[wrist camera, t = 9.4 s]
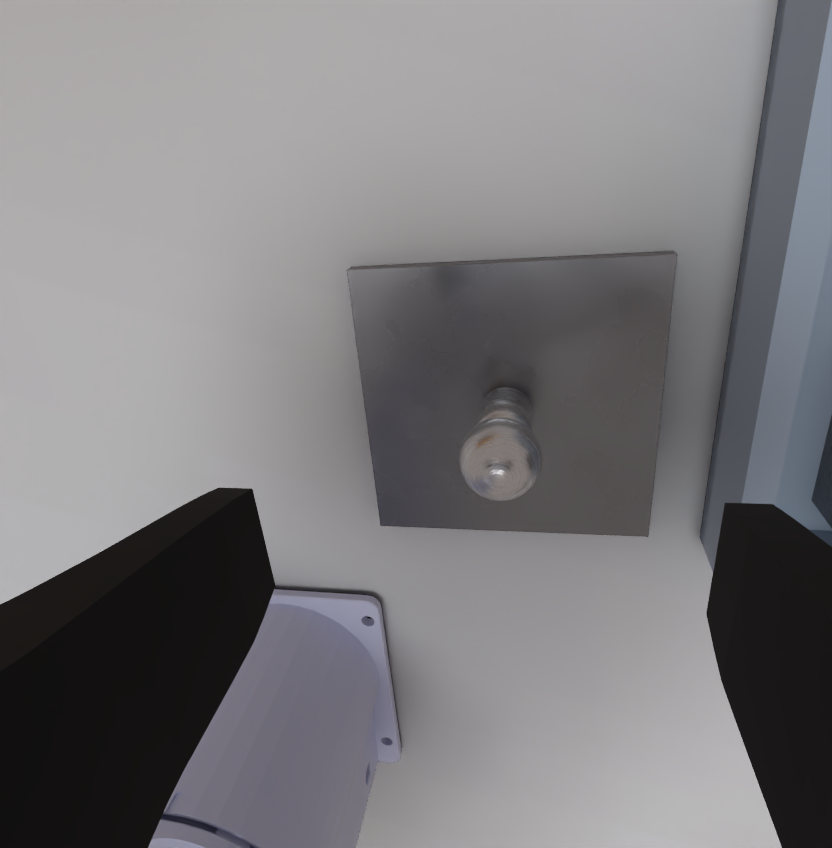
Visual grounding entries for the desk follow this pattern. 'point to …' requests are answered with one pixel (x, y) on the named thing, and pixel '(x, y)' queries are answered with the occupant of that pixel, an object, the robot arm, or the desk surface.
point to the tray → (782, 292)
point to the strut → (825, 480)
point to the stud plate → (515, 390)
